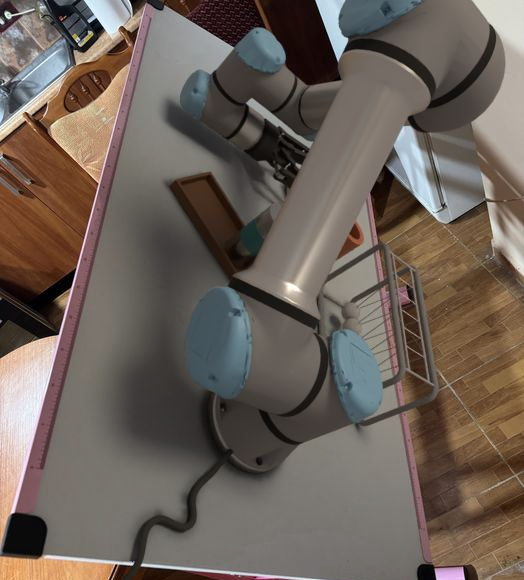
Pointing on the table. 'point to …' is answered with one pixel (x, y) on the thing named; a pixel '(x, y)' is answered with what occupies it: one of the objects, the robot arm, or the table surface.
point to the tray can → (250, 238)
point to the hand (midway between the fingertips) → (332, 192)
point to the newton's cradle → (353, 311)
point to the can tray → (210, 214)
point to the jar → (352, 240)
